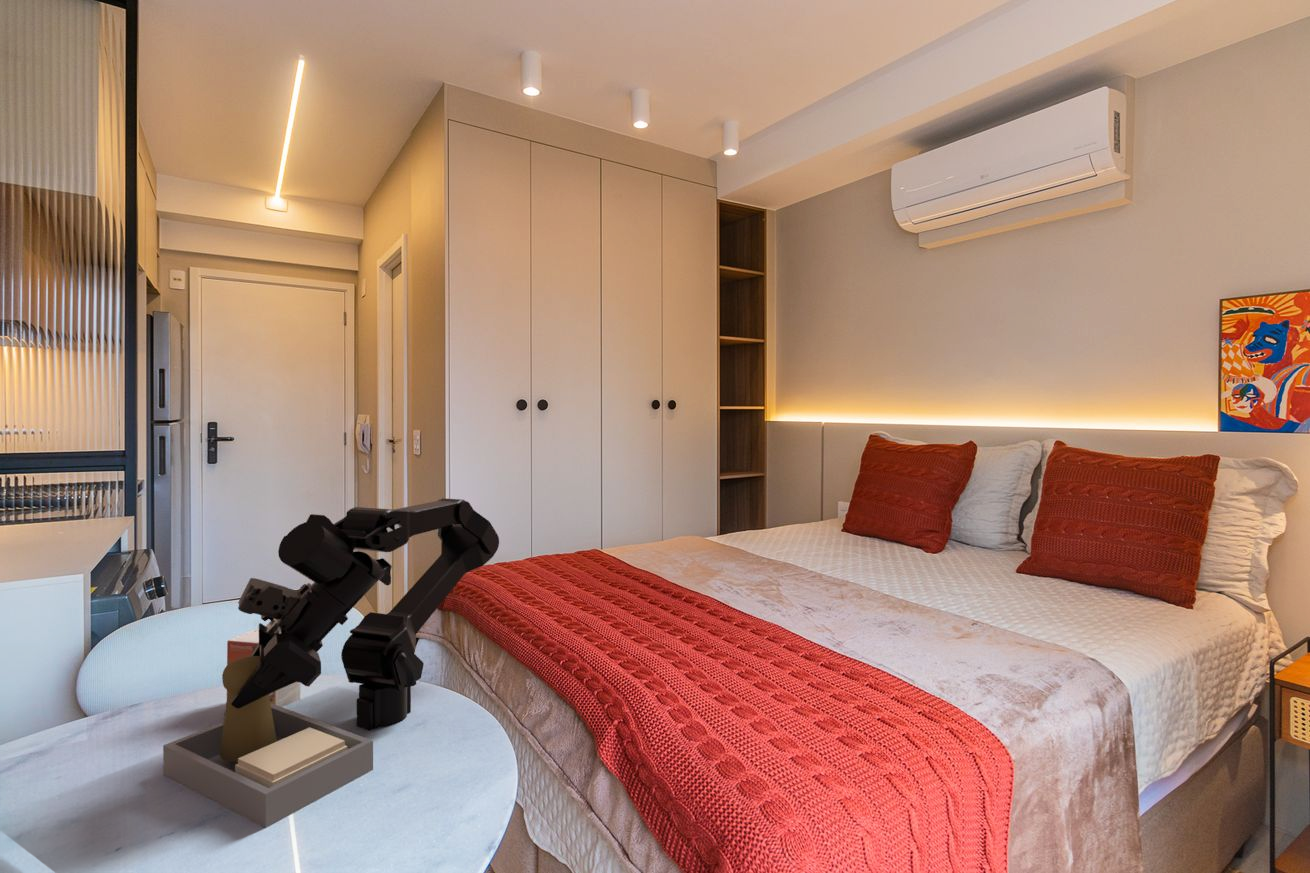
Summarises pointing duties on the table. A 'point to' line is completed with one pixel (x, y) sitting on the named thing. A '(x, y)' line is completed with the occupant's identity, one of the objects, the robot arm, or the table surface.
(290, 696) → the small box
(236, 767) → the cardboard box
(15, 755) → the table surface
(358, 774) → the tray
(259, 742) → the cork
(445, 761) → the table surface
